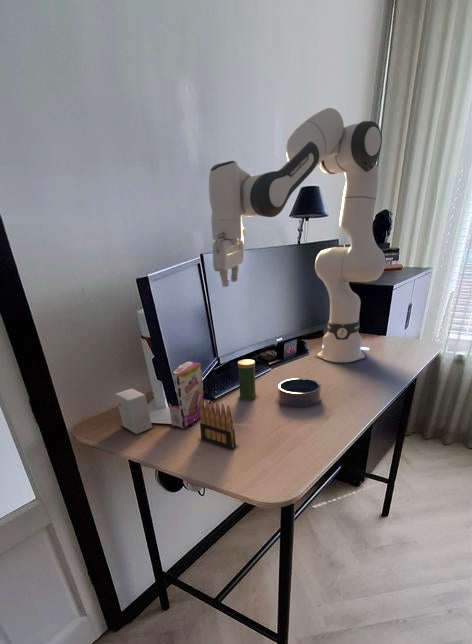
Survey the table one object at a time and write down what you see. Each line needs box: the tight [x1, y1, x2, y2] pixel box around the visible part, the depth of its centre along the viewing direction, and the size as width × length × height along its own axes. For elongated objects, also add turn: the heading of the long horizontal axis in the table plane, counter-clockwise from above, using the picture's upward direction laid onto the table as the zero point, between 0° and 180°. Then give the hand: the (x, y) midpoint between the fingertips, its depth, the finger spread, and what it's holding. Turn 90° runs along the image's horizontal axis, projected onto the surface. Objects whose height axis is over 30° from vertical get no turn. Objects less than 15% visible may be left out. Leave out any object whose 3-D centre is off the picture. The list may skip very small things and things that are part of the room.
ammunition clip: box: [199, 398, 237, 450], centre depth 105 cm, size 11×2×12 cm, turn 53°
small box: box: [114, 388, 153, 435], centre depth 117 cm, size 8×6×10 cm
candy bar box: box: [168, 361, 205, 430], centre depth 117 cm, size 11×5×16 cm, turn 149°
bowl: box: [277, 377, 322, 409], centre depth 128 cm, size 13×13×5 cm
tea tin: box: [237, 358, 257, 401], centre depth 131 cm, size 5×5×12 cm
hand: (230, 283), depth 125 cm, fingers open, 8 cm apart
